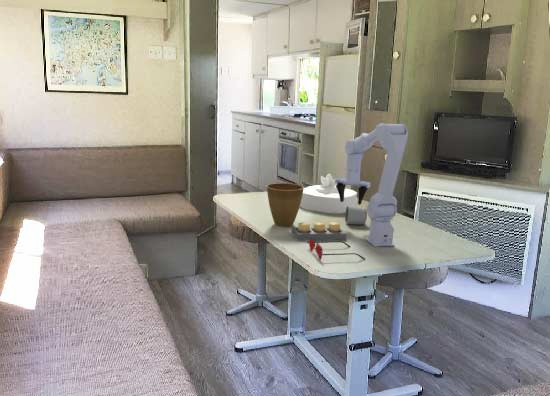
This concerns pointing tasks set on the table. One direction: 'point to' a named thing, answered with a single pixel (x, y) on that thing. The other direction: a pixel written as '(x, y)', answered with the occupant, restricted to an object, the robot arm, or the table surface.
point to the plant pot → (284, 202)
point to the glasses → (320, 252)
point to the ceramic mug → (355, 215)
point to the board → (318, 234)
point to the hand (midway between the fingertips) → (350, 202)
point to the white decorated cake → (327, 197)
